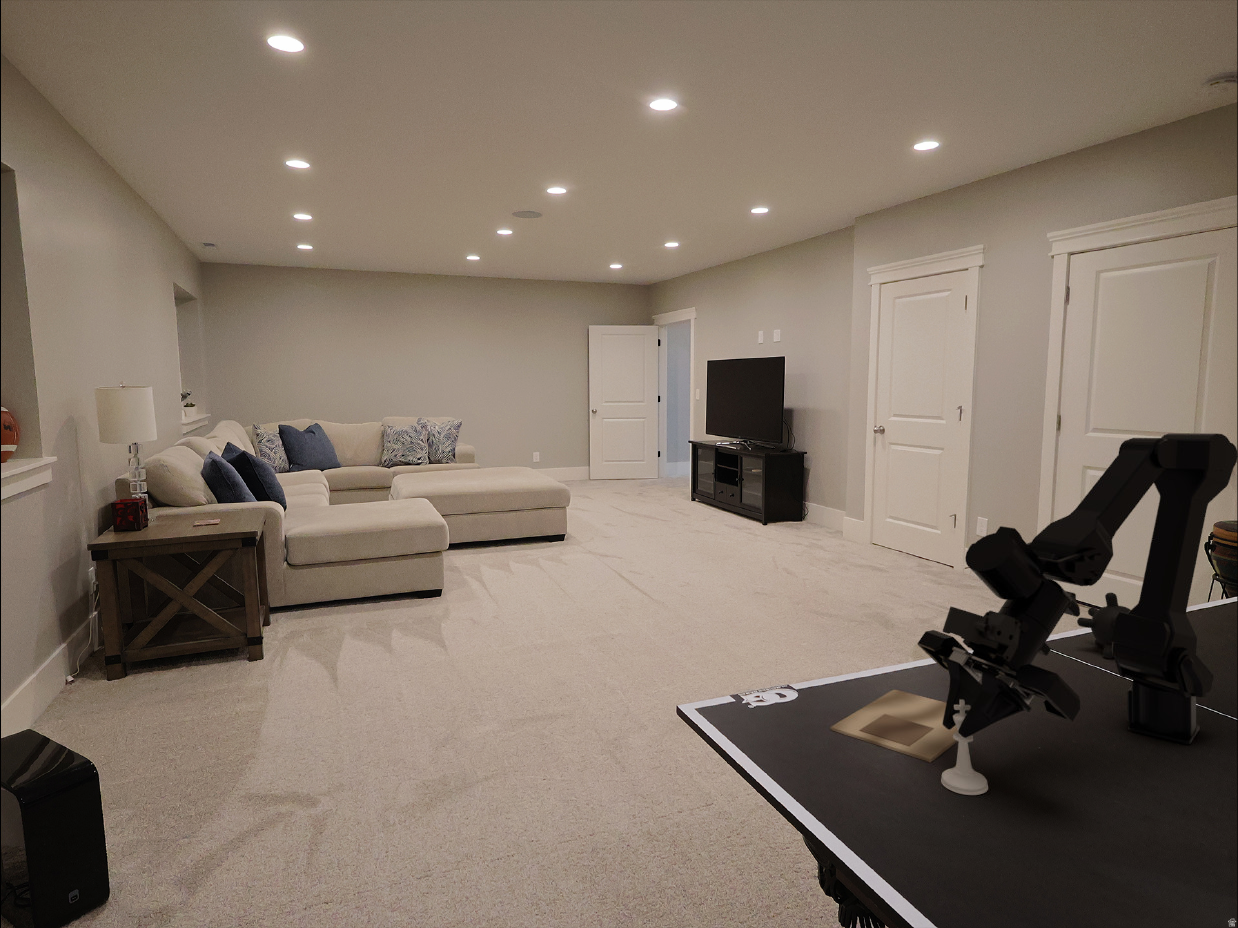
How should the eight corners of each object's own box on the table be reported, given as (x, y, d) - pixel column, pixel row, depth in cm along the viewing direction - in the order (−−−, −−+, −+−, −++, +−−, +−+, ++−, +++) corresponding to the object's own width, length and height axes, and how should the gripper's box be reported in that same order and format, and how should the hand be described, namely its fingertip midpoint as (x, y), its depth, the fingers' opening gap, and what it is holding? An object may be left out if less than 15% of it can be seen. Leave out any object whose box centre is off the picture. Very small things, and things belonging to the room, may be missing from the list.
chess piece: (993, 796, 80) (991, 709, 80) (946, 794, 81) (944, 708, 81) (981, 774, 85) (978, 692, 85) (936, 772, 86) (934, 691, 86)
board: (988, 716, 101) (988, 713, 101) (930, 762, 89) (930, 758, 89) (894, 691, 111) (894, 688, 111) (830, 729, 99) (830, 726, 99)
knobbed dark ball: (1106, 651, 116) (1052, 613, 127) (1136, 686, 119) (1081, 646, 130) (1157, 606, 114) (1098, 572, 126) (1187, 642, 118) (1127, 606, 129)
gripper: (926, 567, 92) (857, 666, 89) (1058, 599, 74) (977, 724, 71) (976, 618, 95) (911, 715, 92) (1114, 661, 77) (1039, 782, 74)
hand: (953, 731), depth 82 cm, fingers closed on chess piece
